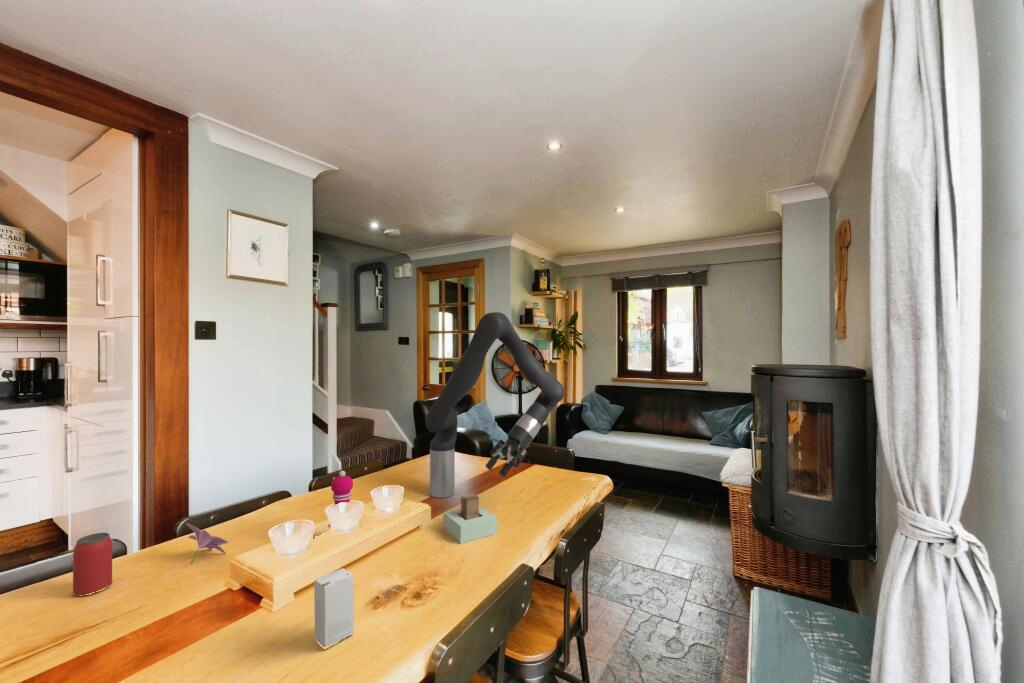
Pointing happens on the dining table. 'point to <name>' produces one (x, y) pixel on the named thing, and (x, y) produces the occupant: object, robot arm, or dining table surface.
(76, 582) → the beer can
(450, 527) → the socket
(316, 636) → the skincare box
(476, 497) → the peg
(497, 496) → the dining table surface
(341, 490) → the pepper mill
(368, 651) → the dining table surface
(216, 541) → the lily
